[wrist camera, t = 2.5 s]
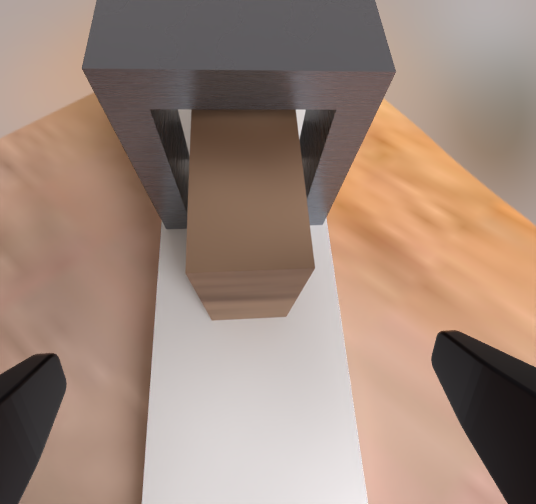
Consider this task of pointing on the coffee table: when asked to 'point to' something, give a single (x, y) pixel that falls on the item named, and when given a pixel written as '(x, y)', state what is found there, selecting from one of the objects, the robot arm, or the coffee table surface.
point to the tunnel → (238, 81)
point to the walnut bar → (247, 213)
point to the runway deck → (250, 393)
